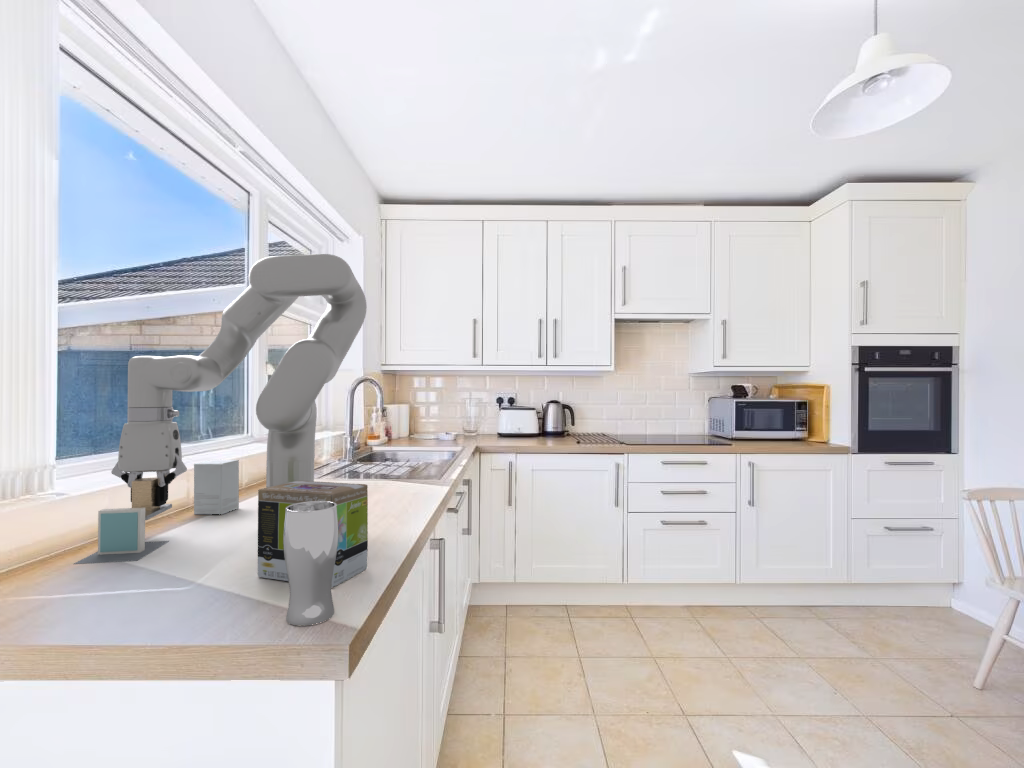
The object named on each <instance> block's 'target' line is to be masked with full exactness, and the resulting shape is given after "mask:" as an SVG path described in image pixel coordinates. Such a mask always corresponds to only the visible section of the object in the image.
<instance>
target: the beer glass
mask: <svg viewBox="0 0 1024 768" xmlns="http://www.w3.org/2000/svg"><path fill="white" fill-rule="evenodd" d="M285 510H286V511H285V521H284V535H283V546H284V557H285V563H286V569H287V574H288V580H289V581H288V585H289V601H288V607H287V612H286V618H285V619H286V622H287V623H288V624H289V623H290V624H289V625H291V624H293V625H292V626H294V625H305V626H304V627H307V626H306V625H311V626H313V625H312V624H316V623H320V622H322V623H324V622H323V621H325V620H327V619H329V618H330V619H331V618H332V617H333V616H334V614H335V606H334V602H333V596H332V588H331V584H332V576H333V571H334V565H335V560H336V554H337V547H338V517H337V504H336V503H334V502H331V501H307V502H300V503H295V504H291V505H289V506H287V507H286V508H285ZM330 619H329V620H330ZM327 621H328V620H327ZM325 622H326V621H325ZM320 624H321V623H320ZM316 625H317V624H316Z"/></svg>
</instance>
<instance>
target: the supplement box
mask: <svg viewBox="0 0 1024 768" xmlns="http://www.w3.org/2000/svg"><path fill="white" fill-rule="evenodd" d="M239 463H240V461H239V459H210V460H205V461H200V462H196V463H194V464H193V514H194V515H212V514H219V516H220V514H221V515H225V514H227V513H229V511H230V512H233V511H236V510H238V509H239V507H240V504H239V503H240V501H239V500H240V493H239V492H240V490H239V489H240V482H239V481H240V476H239V474H240V466H239ZM235 509H236V510H235ZM232 510H233V511H232Z"/></svg>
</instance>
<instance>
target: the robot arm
mask: <svg viewBox="0 0 1024 768" xmlns="http://www.w3.org/2000/svg"><path fill="white" fill-rule="evenodd" d="M251 266H252V267H251V268H250V269H249V273H248V282H249V284H250V285H249V286H247V288H246V289H244V290H243V292H241V294H239V295H238V296H237V297H236V299H234V300H232V302H231V303H230V304H229V305H228V306H227V307H226V308H225V309H224V310H223V312H222V314H221V323H220V324H221V326H220V330H219V333H218V334H217V335H216V337H215V338H214V340H213V341H212V342H211V343H210V344H209V345H208V347H206V348H205V350H203V351H202V352H201V353H200V354H199V355H191V354H189V355H188V354H183V355H179V354H178V355H172V356H159V355H158V356H156V355H136V356H133V357H131V358H129V360H128V363H127V419H126V420H127V423H126V422H125V423H124V424H123V426H122V430H121V435H120V439H119V444H118V445H119V447H118V456H117V458H118V459H117V462H116V463H115V465H114V467H113V468H112V470H111V475H113V476H115V477H117V478H120V479H121V480H122V481H123V482H124V483H126V484H127V487H128V488H130V502H131V503H132V481H134V480H137V479H140V478H143V475H144V473H153V472H155V473H156V478H157V479H158V487H156V489H155V506H161V505H164V504H167V502H168V500H169V485H170V484H172V482H173V480H175V479H176V478H177V477H178V476H180V475H182V474H184V473H185V472H187V471H188V468H187V466H186V464H185V463H184V461H183V459H182V458H183V457H182V456H183V455H182V453H183V452H182V443H181V436H180V430H179V426H178V422H177V421H173V420H174V418H175V417H177V418H178V417H180V410H176V409H174V407H173V391H176V392H189V393H193V392H207V391H210V390H213V389H215V388H217V386H220V385H221V383H223V382H224V380H226V379H227V378H228V377H229V376H230V375H231V374H232V373H234V371H235V370H236V369H237V368H238V367H239V365H240V364H241V363H242V362H243V361H244V360H245V359H246V357H247V355H248V354H249V352H250V351H251V350H252V348H253V347H254V345H255V344H256V342H257V341H258V339H259V338H260V337H261V336H262V335H263V334H264V333H265V332H266V331H267V330H268V329H269V328H270V326H272V325H273V324H274V323H275V322H276V321H277V320H278V319H279V318H280V317H281V315H283V314H284V313H285V312H286V311H287V310H288V309H289V308H290V307H291V306H292V305H293V304H295V302H296V301H297V299H298V298H299V297H316V296H321V297H323V298H324V300H325V301H326V305H327V306H326V309H325V311H324V313H323V314H322V315H321V316H320V319H318V321H317V323H316V325H315V327H314V328H313V330H312V332H311V333H310V335H309V336H308V338H306V339H301V340H298V341H296V342H295V343H293V344H292V345H291V346H290V347H289V348H288V349H287V351H285V353H284V354H283V356H282V357H281V359H280V361H279V362H278V365H277V366H276V368H275V369H274V371H273V372H272V374H271V376H270V378H269V379H268V381H267V382H266V384H265V385H264V387H263V389H262V391H261V393H260V395H259V397H258V398H257V402H256V405H255V414H256V417H257V419H258V421H259V423H260V425H262V426H263V428H265V429H267V430H268V432H267V442H266V443H267V444H266V469H265V470H266V474H265V475H266V477H265V478H266V479H265V480H266V481H265V482H266V483H265V484H266V486H265V488H267V487H272V486H277V485H281V484H286V483H290V482H295V481H315V450H316V449H315V447H316V446H315V445H316V443H315V442H316V428H317V413H318V410H317V404H316V403H317V402H316V399H317V398H318V396H319V394H320V392H321V391H322V390H323V388H324V386H325V384H327V383H329V382H331V381H332V380H333V379H334V378H335V376H336V375H337V373H338V371H339V368H340V366H341V365H342V363H343V361H344V359H345V358H346V356H347V354H348V352H349V350H350V349H351V348H352V345H353V343H354V341H355V340H356V337H357V336H358V333H359V332H360V330H361V328H362V326H363V324H364V322H365V319H366V315H367V310H368V309H367V298H366V295H365V293H364V292H365V291H363V288H362V286H361V285H360V283H359V281H358V280H357V278H356V276H355V274H354V272H353V271H352V268H351V266H350V265H349V264H348V262H347V261H346V260H345V259H343V258H342V257H340V256H338V255H334V254H330V253H316V254H315V253H314V254H313V253H312V254H310V253H309V254H292V255H291V254H290V255H289V254H288V255H274V256H273V255H272V256H267V257H264V258H263V257H262V258H261V259H259V260H257V261H256V262H254V263H253V265H251ZM172 469H174V470H173V471H172V472H171V471H170V470H172Z"/></svg>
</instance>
